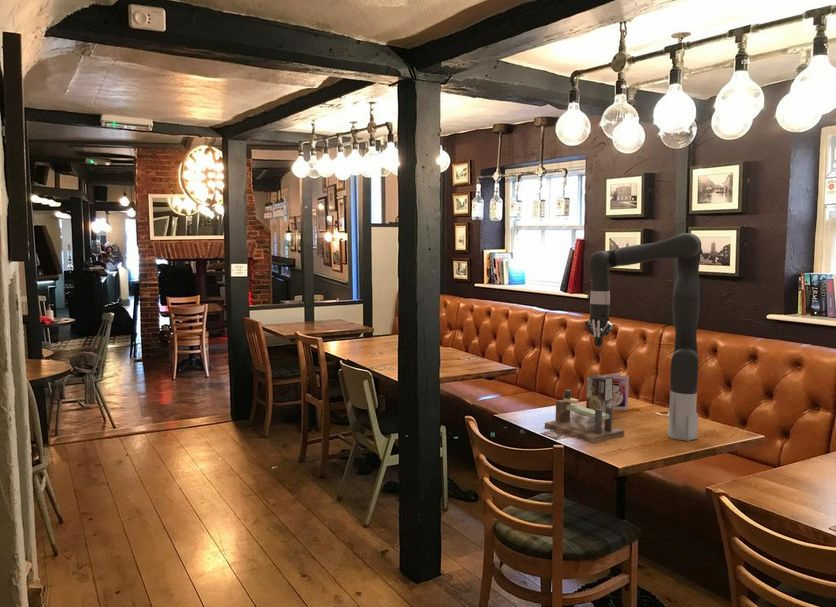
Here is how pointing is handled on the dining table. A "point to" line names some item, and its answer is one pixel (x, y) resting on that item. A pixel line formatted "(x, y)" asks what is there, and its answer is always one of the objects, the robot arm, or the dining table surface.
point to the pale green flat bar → (585, 411)
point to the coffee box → (599, 392)
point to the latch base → (576, 432)
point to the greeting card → (620, 391)
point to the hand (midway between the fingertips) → (598, 346)
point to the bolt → (569, 397)
